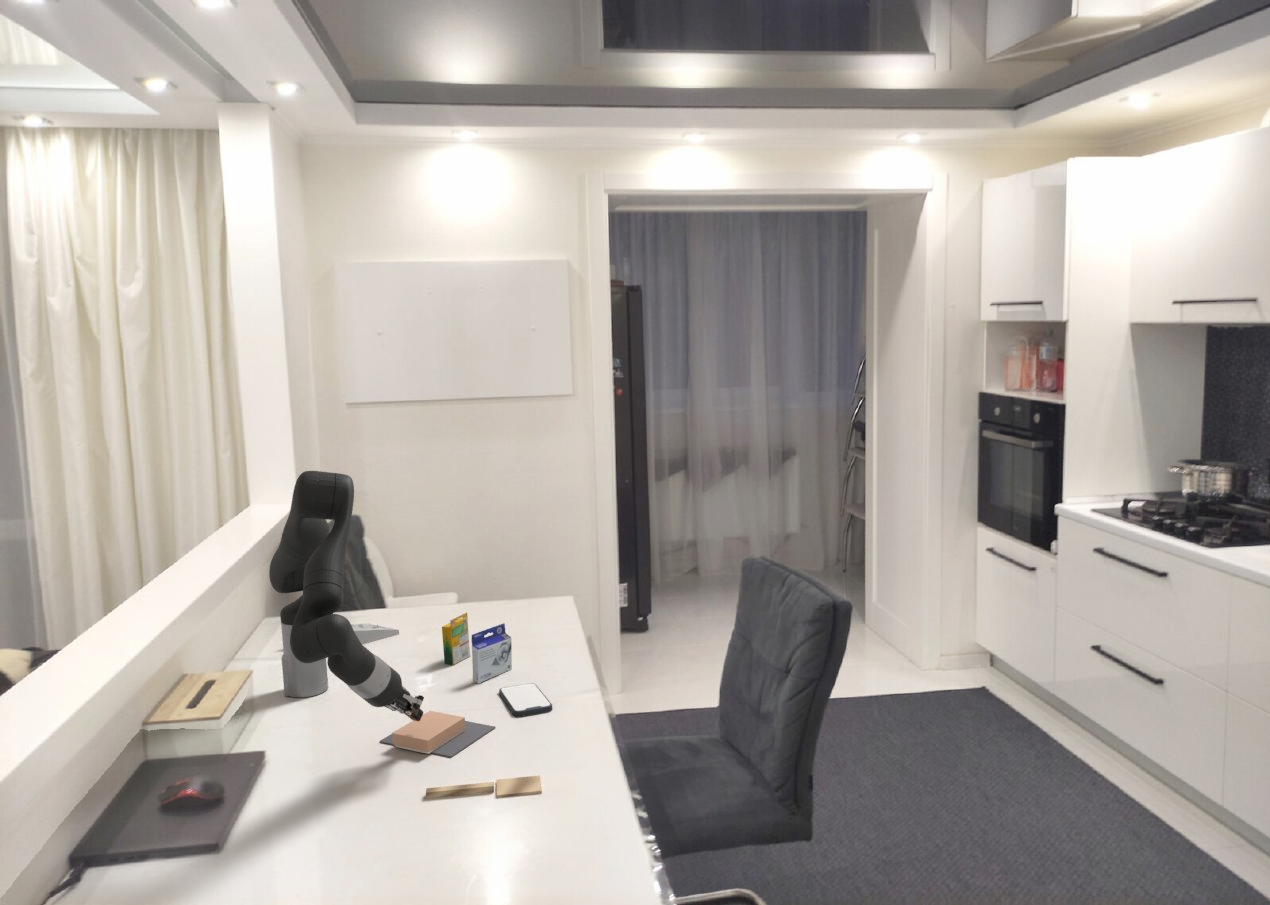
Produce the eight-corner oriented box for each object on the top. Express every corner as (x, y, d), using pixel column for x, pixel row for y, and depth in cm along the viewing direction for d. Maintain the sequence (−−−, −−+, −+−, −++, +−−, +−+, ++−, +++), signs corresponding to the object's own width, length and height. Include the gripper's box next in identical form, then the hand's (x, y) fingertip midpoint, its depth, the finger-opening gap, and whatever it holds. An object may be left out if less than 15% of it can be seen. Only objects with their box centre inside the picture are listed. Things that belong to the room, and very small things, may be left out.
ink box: (479, 684, 227) (476, 636, 225) (472, 682, 228) (469, 635, 227) (513, 669, 236) (511, 623, 234) (506, 667, 237) (504, 622, 236)
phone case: (497, 694, 222) (514, 719, 207) (497, 688, 222) (514, 712, 207) (535, 688, 225) (554, 712, 210) (534, 682, 225) (554, 705, 210)
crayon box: (460, 654, 248) (458, 610, 246) (470, 656, 246) (468, 612, 245) (443, 664, 241) (440, 619, 239) (453, 665, 240) (450, 620, 238)
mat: (379, 742, 197) (379, 740, 197) (426, 714, 210) (426, 713, 210) (451, 757, 189) (451, 756, 189) (495, 728, 202) (495, 726, 202)
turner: (425, 804, 171) (424, 798, 171) (427, 788, 177) (427, 782, 176) (541, 793, 174) (541, 787, 173) (540, 777, 179) (539, 771, 179)
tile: (391, 733, 193) (429, 710, 204) (392, 747, 194) (430, 724, 204) (427, 740, 189) (464, 717, 200) (428, 755, 190) (465, 731, 200)
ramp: (395, 627, 273) (394, 608, 273) (404, 643, 259) (402, 624, 258) (290, 642, 263) (289, 622, 263) (293, 660, 249) (291, 639, 248)
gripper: (408, 665, 180) (452, 704, 193) (354, 656, 186) (400, 694, 199) (391, 703, 176) (437, 740, 189) (336, 692, 182) (384, 728, 195)
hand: (418, 716), depth 194 cm, fingers closed
